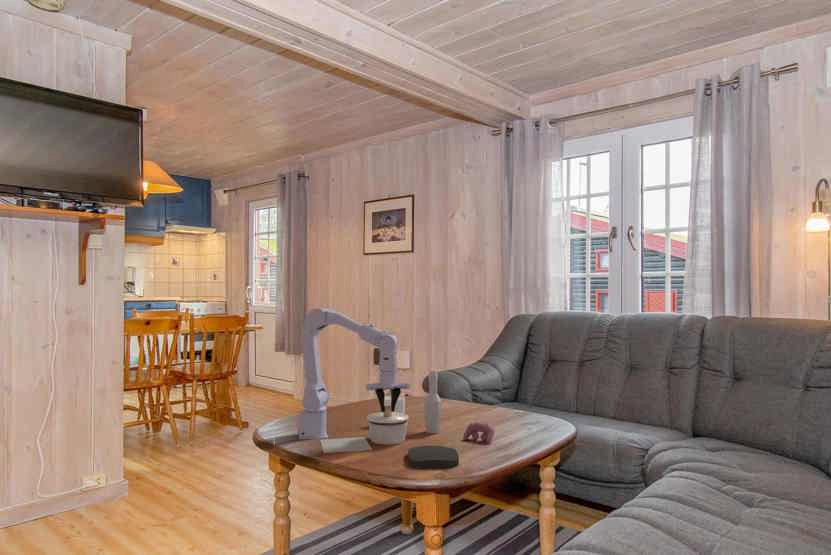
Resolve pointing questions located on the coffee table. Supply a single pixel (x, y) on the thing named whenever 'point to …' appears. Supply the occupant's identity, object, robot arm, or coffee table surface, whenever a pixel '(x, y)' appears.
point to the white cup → (399, 404)
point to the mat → (345, 445)
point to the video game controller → (479, 427)
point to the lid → (387, 416)
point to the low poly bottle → (432, 405)
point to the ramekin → (387, 432)
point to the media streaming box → (433, 457)
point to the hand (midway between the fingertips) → (387, 411)
